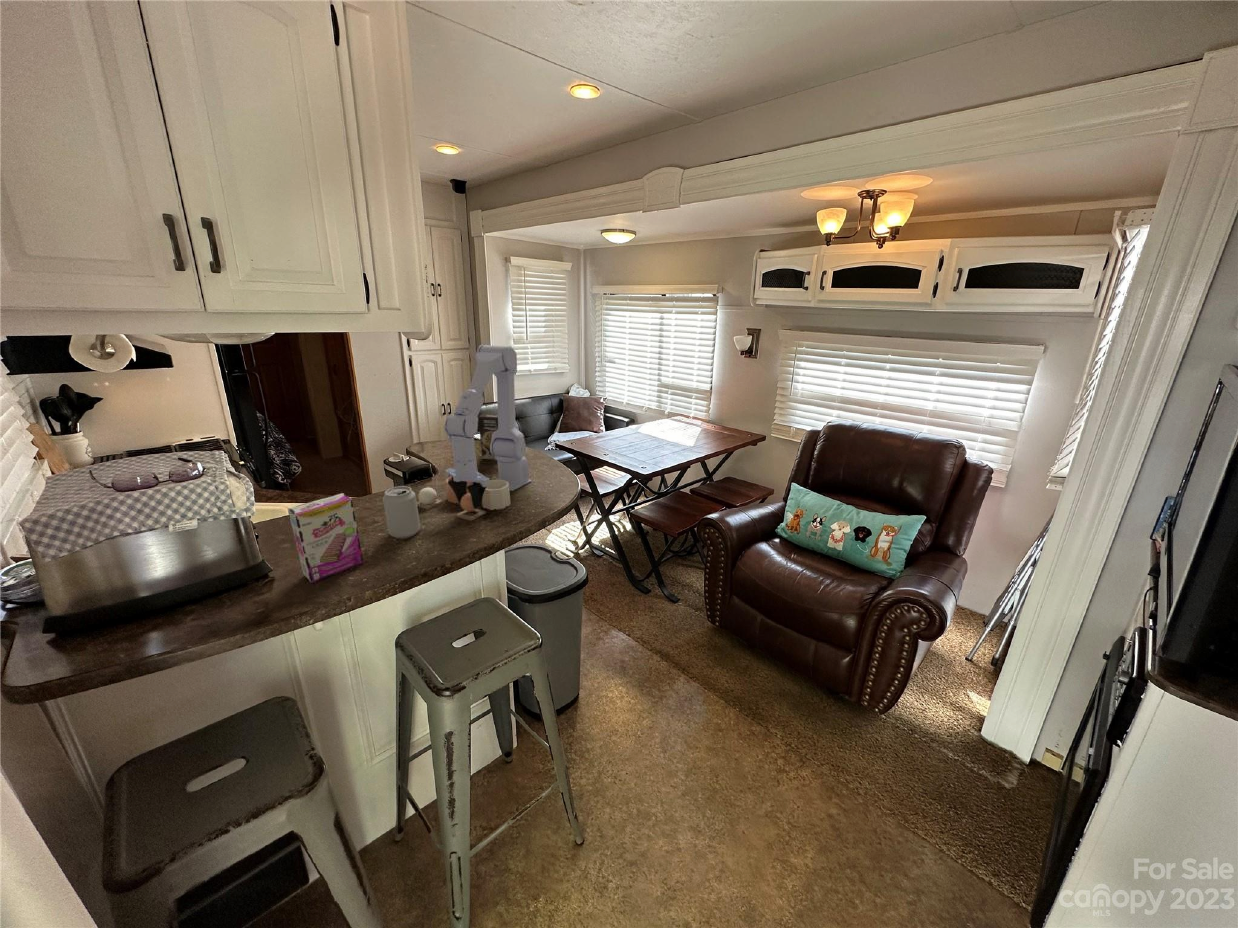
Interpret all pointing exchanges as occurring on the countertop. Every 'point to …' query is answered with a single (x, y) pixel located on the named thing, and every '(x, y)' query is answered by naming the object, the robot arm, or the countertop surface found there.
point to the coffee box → (487, 432)
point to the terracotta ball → (467, 503)
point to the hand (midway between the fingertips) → (470, 505)
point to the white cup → (496, 495)
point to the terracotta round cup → (451, 493)
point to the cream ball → (427, 496)
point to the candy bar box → (326, 536)
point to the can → (401, 512)
